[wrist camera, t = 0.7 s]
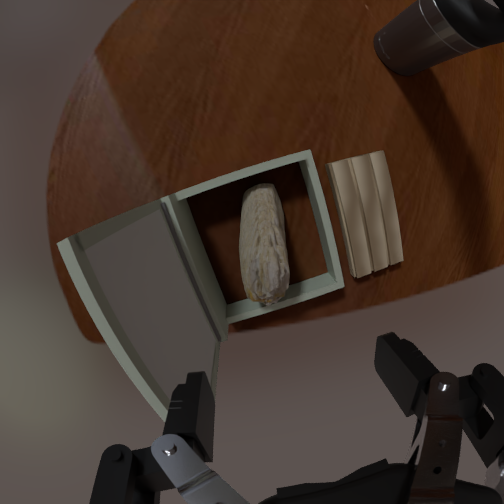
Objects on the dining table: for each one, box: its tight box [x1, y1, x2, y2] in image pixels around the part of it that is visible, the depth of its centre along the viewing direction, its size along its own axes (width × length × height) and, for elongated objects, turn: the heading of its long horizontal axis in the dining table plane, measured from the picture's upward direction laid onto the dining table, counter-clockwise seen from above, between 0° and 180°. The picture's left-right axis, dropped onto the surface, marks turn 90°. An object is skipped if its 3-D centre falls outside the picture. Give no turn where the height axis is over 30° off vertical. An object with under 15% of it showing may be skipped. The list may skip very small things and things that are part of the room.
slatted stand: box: [325, 151, 403, 278], centre depth 36 cm, size 9×17×2 cm, turn 18°
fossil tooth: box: [239, 183, 290, 306], centre depth 33 cm, size 12×6×15 cm
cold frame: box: [57, 150, 344, 422], centre depth 26 cm, size 19×19×25 cm
